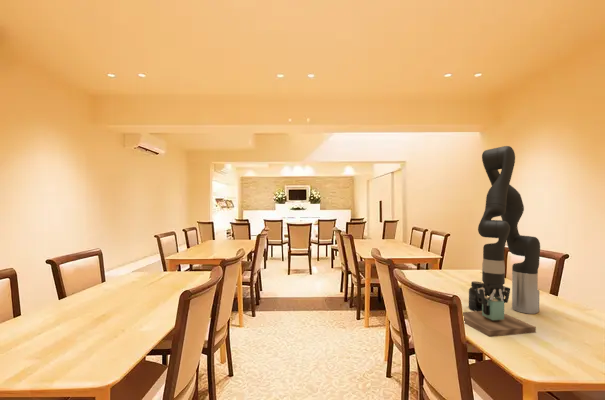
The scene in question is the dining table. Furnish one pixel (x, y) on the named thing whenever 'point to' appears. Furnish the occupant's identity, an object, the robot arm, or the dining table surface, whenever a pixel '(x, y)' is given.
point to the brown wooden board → (497, 324)
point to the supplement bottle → (475, 296)
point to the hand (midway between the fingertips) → (492, 313)
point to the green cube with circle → (495, 310)
